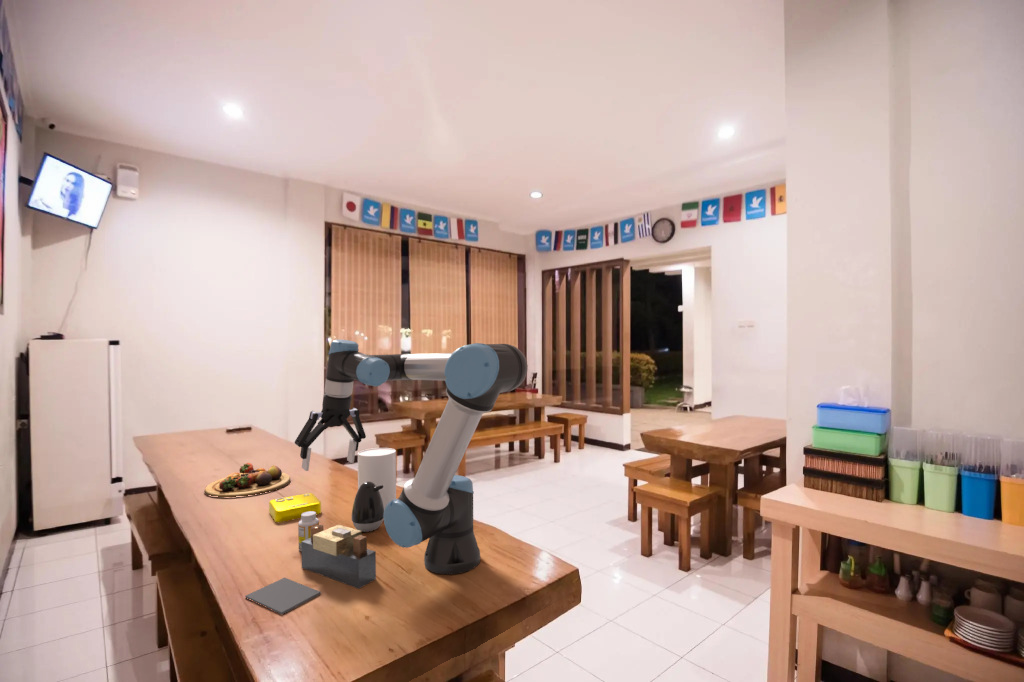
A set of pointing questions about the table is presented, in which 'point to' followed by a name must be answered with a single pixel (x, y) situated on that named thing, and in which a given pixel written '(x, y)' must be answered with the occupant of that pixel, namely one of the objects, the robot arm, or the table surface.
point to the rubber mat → (283, 595)
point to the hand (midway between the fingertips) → (328, 465)
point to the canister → (379, 471)
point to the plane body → (341, 561)
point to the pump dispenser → (368, 507)
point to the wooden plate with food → (248, 482)
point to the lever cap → (335, 539)
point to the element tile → (293, 506)
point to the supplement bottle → (306, 526)
